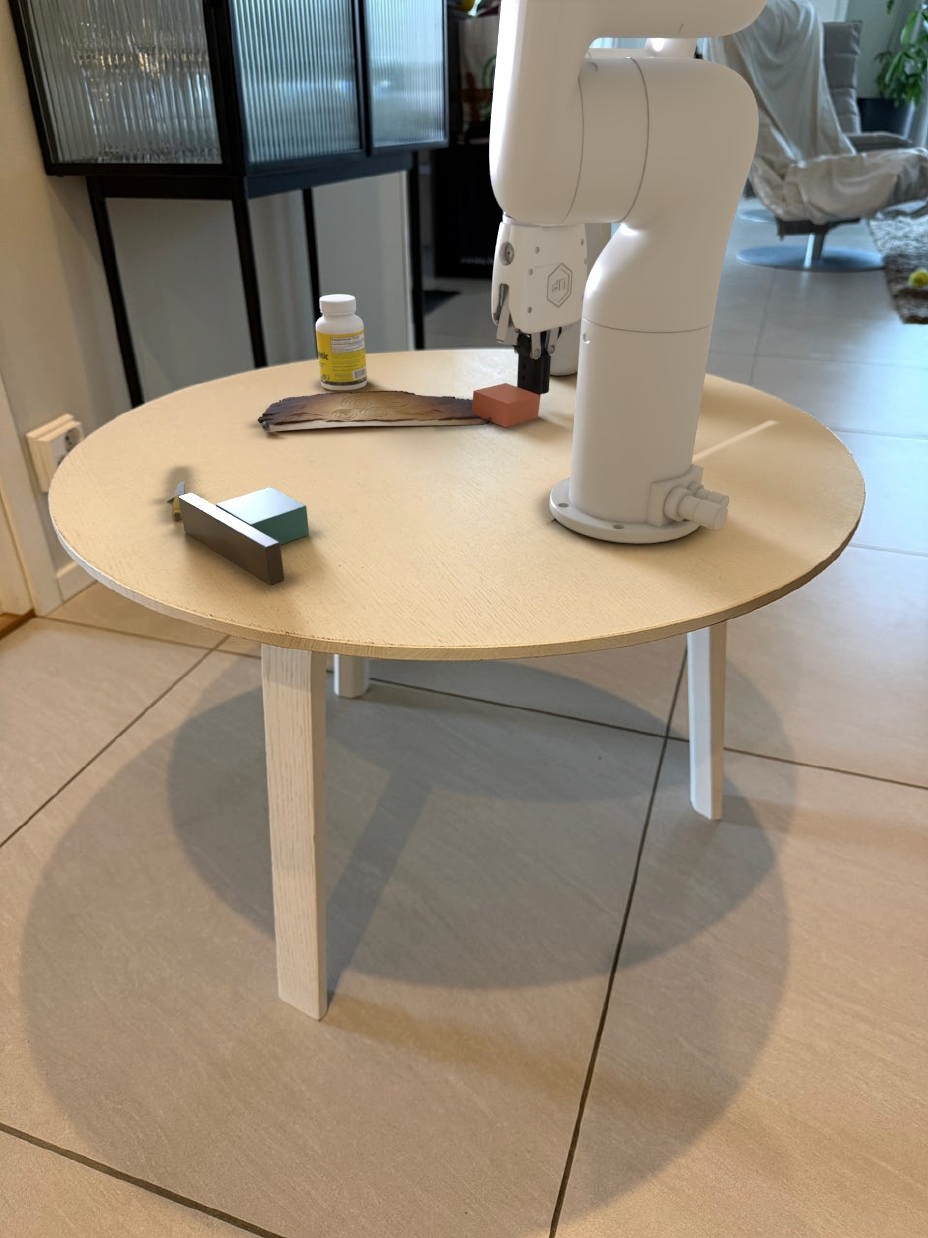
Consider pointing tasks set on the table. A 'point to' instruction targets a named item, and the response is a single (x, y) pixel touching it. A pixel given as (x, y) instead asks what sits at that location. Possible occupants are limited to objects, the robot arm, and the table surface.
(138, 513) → the table surface
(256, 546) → the stop bar
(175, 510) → the dagger
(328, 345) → the supplement bottle
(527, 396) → the tile
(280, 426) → the parchment
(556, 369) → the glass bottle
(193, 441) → the table surface
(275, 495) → the tile
